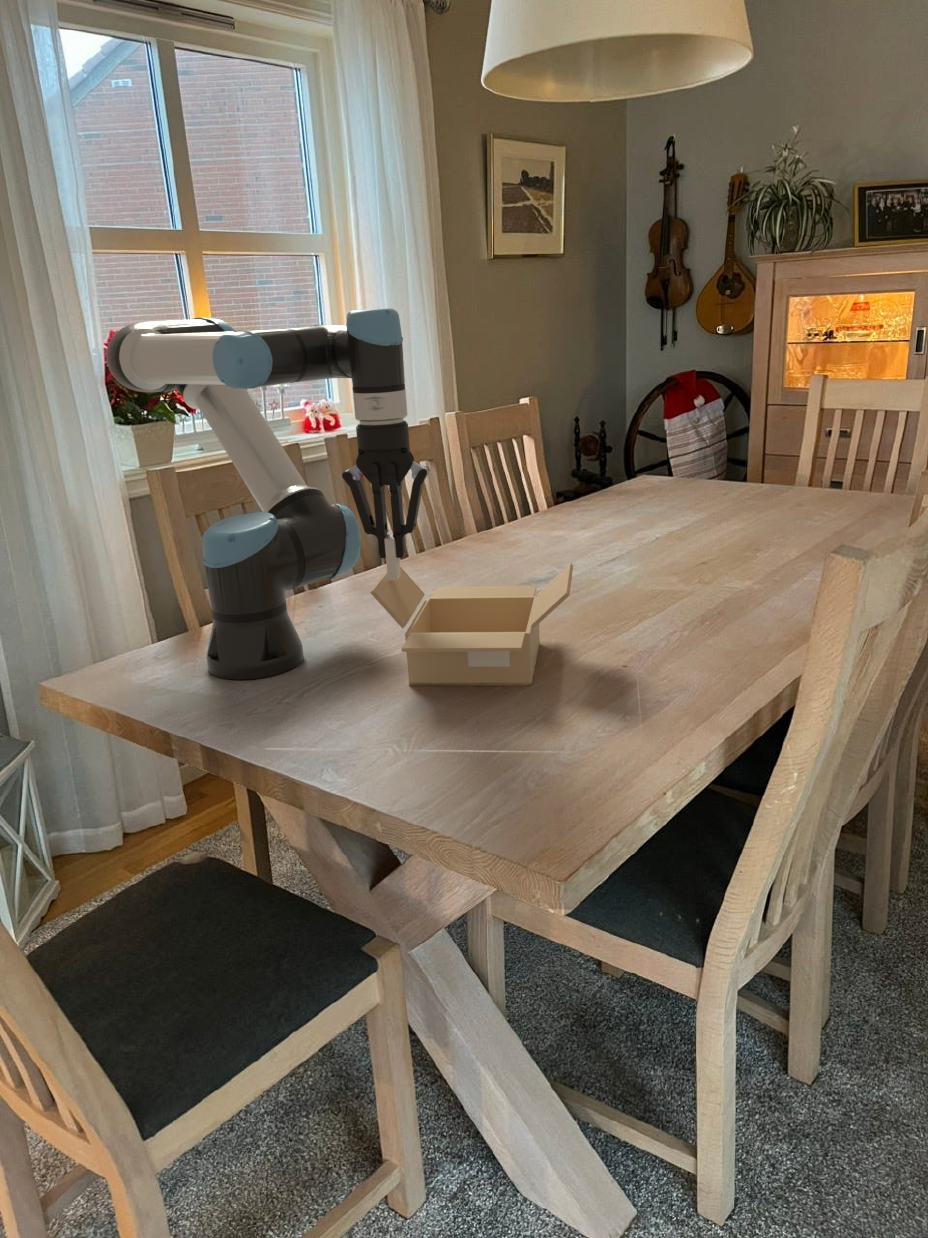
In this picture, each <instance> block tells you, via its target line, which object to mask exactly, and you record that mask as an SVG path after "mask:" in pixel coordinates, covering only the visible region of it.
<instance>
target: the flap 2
mask: <svg viewBox="0 0 928 1238" xmlns="http://www.w3.org/2000/svg"><path fill="white" fill-rule="evenodd" d="M573 570H574V565H573V564H572V562H570V563H569V564H568V565H566V566H565V568H563V570H561V571H560V572H559V573H558V574H557V575H556V576H554V578H553V579H552V580H550V582H548V583H547V585H545V586H544V587H543V588H542V589H541V590H540V591H539V592H538V594H537V596H538V598H537V602H536V606H535V611H534V615H533V619H532V624H531V626H532V627H533V628H535V627H536V626H537V625H538V624H539V625H540V624H541V622H542V621H544V620H545V619H546V618H547V617H548V616H549V615H550V614H551V613H553V612H554V610H556V609H557V608H558V607H559V606H560V605H561V604H562V603H563V602H564V601H565V600H566V599H568V597H570V594H571V587H572V578H573Z"/></svg>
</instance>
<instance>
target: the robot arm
mask: <svg viewBox="0 0 928 1238" xmlns="http://www.w3.org/2000/svg"><path fill="white" fill-rule="evenodd" d="M403 342H404V337H403V334H402V328H401V320H400V315H399V313H398V311H397V310H395V309H394V308H389V307H388V308H373V309H361V310H360V309H359V310H356V309H355V310H350V311H348V312H347V314H346V325H344V324H342V325H339V324H338V325H336V324H335V325H333V324H331V325H330V324H329V325H328V324H319V325H315V324H314V325H310V326H303V327H291V328H283V329H282V328H281V329H277V328H276V329H259V330H258V329H257V330H235V329H234V328H233V327H232V326H231V325H230V324H228V322H226V321H224V320H222V319H219V318H207V317H199V316H198V317H194V318H190V319H182V320H181V319H178V320H176V319H175V320H158V321H157V320H154V321H150V320H149V321H140V322H139V321H138V322H135V323H131V324H128V325H126V326H124V327H122V328H120V329H119V330H118V331H117V332H116V333H114V335H113V336H112V337H111V338H110V340H109V342H108V344H107V347H106V352H105V356H106V358H105V359H106V364H107V367H108V370H109V372H110V374H111V375H112V377H113V378H114V379H115V380H116V381H117V382H118V383H119V384H120V385H121V386H123V387H125V388H126V389H129V390H132V391H135V392H141V393H158V392H160V393H161V392H162V393H163V392H172V391H176V392H178V393H179V395H180V397H181V398H182V400H183V401H184V403H185V404H186V405H187V406H188V407H189V408H191V409H195V410H199V411H200V412H201V414H202V416H204V419H205V421H206V422H207V423H208V426H209V427H210V428H211V430H212V431H213V433H214V435H215V436H216V438H217V439H218V441H219V443H220V444H221V446H222V447H223V450H224V451H225V452H226V454H227V456H228V458H229V459H230V461H231V463H232V464H233V466H234V467H235V468H236V470H237V472H238V474H239V475H240V477H241V479H242V480H243V482H244V484H245V486H246V487H247V488H248V490H249V492H250V493H251V495H252V497H253V498H254V500H255V501H256V504H257V505H258V507H259V508H260V509H261V511H253V512H248V513H245V514H241V513H240V514H236V515H233V516H229V517H226V518H223V519H221V520H219V521H217V522H215V523H213V524H211V525H210V526H209V527H208V528H206V530H205V532H204V533H203V535H202V540H201V541H202V542H201V543H202V544H201V545H202V563H203V564H204V569H205V577H206V583H207V590H208V596H209V597H208V598H209V602H210V604H209V605H210V608H211V609H210V610H211V615H212V616H211V617H212V625H211V630H210V631H211V632H210V637H209V642H208V646H207V652H206V663H207V669H208V671H209V673H210V675H211V674H212V675H213V676H215V677H217V678H222V679H227V680H254V679H261V678H266V677H267V678H268V677H271V676H275V675H280V674H282V673H285V672H288V671H290V670H292V669H294V668H297V666H298V665H300V664H301V663H302V662H303V661H304V658H305V657H304V655H305V654H304V648H303V643H302V640H301V639H300V636H299V633H298V632H297V630H296V628H295V626H294V624H293V621H292V620H291V617H290V615H289V613H288V606H287V598H286V597H287V596H286V592H287V591H291V590H295V589H297V588H301V587H303V586H308V585H310V584H311V585H312V584H315V583H319V582H322V581H325V580H332V579H335V578H336V577H337V576H340V575H343V574H346V573H347V572H349V571H351V570H352V569H353V568H354V567H355V565H356V564H357V562H358V560H359V557H360V553H361V539H362V536H361V531H360V526H359V522H358V520H357V518H356V516H355V515H354V513H353V511H352V510H351V509H350V508H349V507H347V506H346V505H342V504H341V503H333V504H330V503H329V501H328V499H327V498H326V496H325V494H324V493H323V492H322V490H321V489H320V488H318V487H314V486H308V485H307V484H306V481H305V480H304V479H303V477H302V475H301V474H300V473H299V471H298V469H297V468H296V466H295V465H294V463H293V462H292V460H291V458H290V457H289V455H288V453H287V452H286V450H285V449H284V447H283V446H282V443H280V440H279V439H278V438H277V436H276V434H275V433H274V431H273V430H272V428H271V426H270V425H269V423H268V422H267V420H266V419H265V417H264V416H263V414H262V412H261V411H260V409H259V408H258V406H257V405H256V403H255V402H254V400H253V398H252V397H251V396H250V394H249V392H248V389H250V390H251V389H257V388H260V387H261V388H262V387H269V386H274V385H275V386H276V385H283V384H284V385H285V384H292V383H293V384H294V383H303V382H310V381H320V380H328V379H351V381H352V382H351V383H352V396H353V406H354V407H353V408H354V419H355V420H356V421H358V422H359V423H357V424H356V427H355V432H356V441H357V451H358V453H357V457H356V459H355V464H354V465H353V466H351V467H350V468H348V469H346V470H345V471H344V472H342V474H341V477H342V479H343V480H344V482H345V483H346V484H347V485H348V487H349V489H350V491H351V494H352V497H353V500H354V501H353V502H354V504H355V507H356V509H357V514H358V515H359V518H360V522H361V525H362V527H363V530H364V533H365V534H366V535H372V536H374V537H376V538H377V545H378V556H379V558H380V559H385V562H386V563H385V564H386V572H387V576H388V581H397V580H398V579H399V577H400V576H401V574H400V567H401V564H400V562H401V561H400V559H403V558H404V557H405V555H406V542H405V536H406V535H407V534H412V533H413V531H414V530H415V529H416V527H417V522H418V517H419V511H420V505H421V500H422V499H421V498H422V493H423V488H424V482H425V480H426V478H427V477H428V475H429V473H430V468H429V467H428V466H427V465H426V466H422V465H421V464H419V463H418V462H416V461H415V457H414V455H413V454H412V452H411V448H410V435H409V433H410V432H409V431H410V430H409V423H408V422H407V420H404V419H405V418H406V417H408V405H407V404H408V403H407V393H406V382H405V381H406V379H405V378H406V377H405V367H404V365H405V363H404V350H403V349H404V348H403ZM410 470H411V477H412V479H413V482H412V484H411V485H412V486H411V493H410V497H409V504H408V509H407V516H406V521H404V509H403V507H404V506H403V505H404V504H403V493H402V487H403V486H402V485H403V483H402V482H403V481H404V480H405V478H406V476H407V474H408V473H409V471H410ZM361 474H362V475H363V476H364V477H365V478H366V479H367V481H368V483H370V484H371V491H372V497H373V508H374V515H373V514H372V510H371V507H370V504H369V501H368V499H367V495H366V491H365V489H364V485H363V483H362V481H361V478H362V477H361V476H362V475H361ZM386 486H388V490H389V491H388V492H389V493H390V494H389V496H390V507H391V508H390V509H391V519H392V521H391V523H392V532H393V533H392V534H388V533H389V528H388V527H389V526H388V517H387V516H388V515H387V506H386V492H385V491H386V490H385V489H386ZM373 516H374V517H373ZM374 518H375V520H374Z"/></svg>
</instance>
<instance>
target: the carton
mask: <svg viewBox="0 0 928 1238" xmlns="http://www.w3.org/2000/svg"><path fill="white" fill-rule="evenodd" d="M536 593H537V585H491V586H490V585H489V586H488V585H487V586H486V585H485V586H483V585H482V586H479V585H478V586H477V585H476V586H475V585H474V586H437V587H436V589H435V590H434V591H433V593H432V595H431V597H426V598H425V600H424V601H423V604H422V605H421V607H420V608H419V610H418V611H417V613H416V615H415V617H414V618H413V620H412V622H411V623H410V625H409V627H408V628H407V630H406V632H405V633H404V636H405V637H404V638H405V641H404V644H403V645H402V647H401V652H402V653H406V663H407V665H406V666H407V674H408V675H407V677H408V686H412V687H413V686H415V687H416V686H418V687H419V686H423V687H424V686H426V687H427V686H432V687H433V686H434V687H435V686H439V687H440V686H443V687H445V686H447V687H448V686H452V687H453V686H456V687H457V686H458V687H460V686H461V687H462V686H463V687H464V686H465V687H467V686H471V687H472V686H476V687H477V686H479V687H482V686H484V687H485V686H486V687H487V686H489V687H491V686H493V687H494V686H497V687H499V686H500V687H501V686H502V687H504V686H505V687H507V686H509V687H510V686H512V687H514V686H515V687H517V686H518V687H520V686H521V687H525V686H528V687H529V686H530V687H531V686H533V681H534V676H535V669H536V665H537V660H538V654H539V649H540V645H541V644H540V643H541V642H540V641H541V639H540V623H539V624H538V625H537V626H536V627H535V628H533V627H532V626H531V624H532V619H533V615H534V611H535V606H536V602H537V598H538V595H536Z"/></svg>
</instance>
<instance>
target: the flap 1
mask: <svg viewBox="0 0 928 1238" xmlns="http://www.w3.org/2000/svg"><path fill="white" fill-rule="evenodd" d="M400 574H401V576H400V577H399V579H398V580H397V581H388V576H387V571H386V572H385V574H383V576H382V577H381V578H380V580H379V581H378V582H377V584H376V585H375V586H374V587H373V588H372V590H371V591H370V593H369V594H370V595H372V597H373V598H374V599H375V600H376V601H377V602H378V604H380V606H382V607H383V609H384V610H385V611H386V613H388V614H389V615H390V617H392V618H393V620H394V621H395V622H396V623H397V624H398V625H399V627H400V628H401V629H404V628H406V626H407V624H408V623H409V621H410V619H411V618H412V616H413V615H414V613H415V611H416V610H417V608H418V606H420V603H421V601H422V600H423V598H424V596H426V594H425V592H424V591H423V590H422V589H421V588H420V586H419V585H417V583H416V582H415V581H414V580H413V579H412V578H411V577H410V575H409V574H408V573H407V571H405V570H404V569H403V568H402V567H401V566H400Z"/></svg>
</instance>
